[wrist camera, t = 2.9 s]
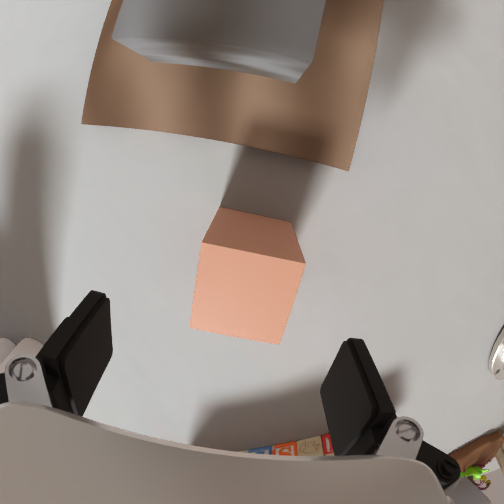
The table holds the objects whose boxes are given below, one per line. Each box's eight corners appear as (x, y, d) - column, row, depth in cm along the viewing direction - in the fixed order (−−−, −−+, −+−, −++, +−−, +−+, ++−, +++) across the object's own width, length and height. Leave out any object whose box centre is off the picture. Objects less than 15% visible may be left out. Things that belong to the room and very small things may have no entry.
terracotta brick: (291, 222, 21) (305, 263, 14) (274, 285, 23) (279, 344, 16) (219, 207, 21) (201, 242, 14) (207, 271, 23) (189, 327, 16)
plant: (430, 456, 36) (448, 506, 25) (511, 418, 34) (533, 457, 24) (405, 495, 43) (416, 533, 32) (476, 466, 41) (490, 499, 31)
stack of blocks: (346, 426, 30) (366, 516, 18) (352, 448, 32) (369, 526, 21) (182, 455, 33) (168, 532, 21) (204, 474, 35) (195, 544, 24)
